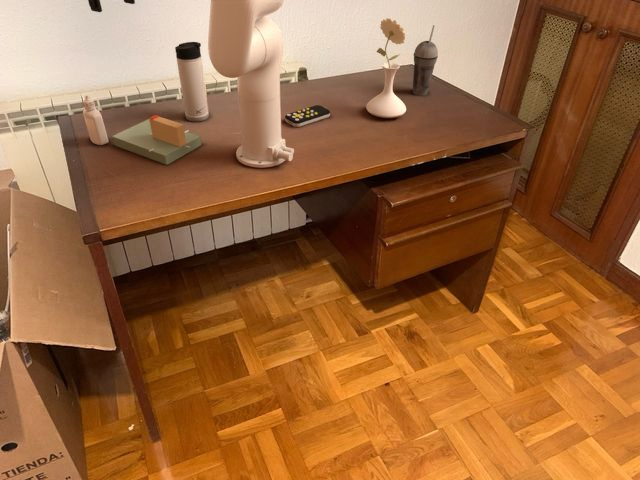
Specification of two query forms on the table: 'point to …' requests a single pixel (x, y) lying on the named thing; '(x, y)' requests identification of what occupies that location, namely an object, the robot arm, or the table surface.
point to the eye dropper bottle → (94, 122)
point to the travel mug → (192, 81)
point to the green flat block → (153, 143)
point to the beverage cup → (424, 65)
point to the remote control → (307, 116)
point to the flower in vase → (388, 77)
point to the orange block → (167, 131)
